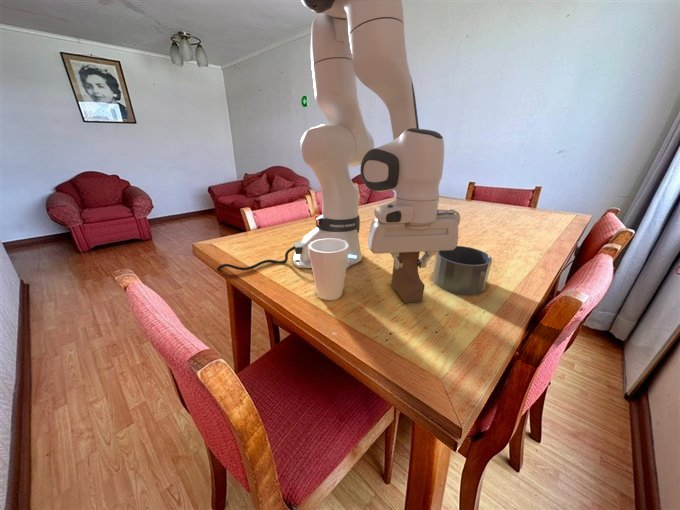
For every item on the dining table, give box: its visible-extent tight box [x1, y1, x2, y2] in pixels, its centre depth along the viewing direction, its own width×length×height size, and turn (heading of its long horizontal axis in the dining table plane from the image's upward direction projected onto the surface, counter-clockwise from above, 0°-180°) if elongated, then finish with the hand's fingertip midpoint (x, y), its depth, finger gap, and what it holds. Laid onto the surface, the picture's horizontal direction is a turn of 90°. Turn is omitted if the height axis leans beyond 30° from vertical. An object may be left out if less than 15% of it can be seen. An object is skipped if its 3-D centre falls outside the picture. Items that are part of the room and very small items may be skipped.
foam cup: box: [308, 238, 349, 301], centre depth 64 cm, size 10×9×13 cm
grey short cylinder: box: [432, 245, 493, 296], centre depth 71 cm, size 17×13×8 cm
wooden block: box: [391, 252, 425, 303], centre depth 63 cm, size 9×4×18 cm, turn 12°
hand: (409, 267), depth 63 cm, fingers closed on wooden block, 4 cm apart
